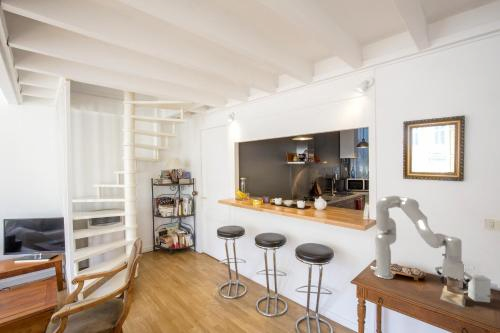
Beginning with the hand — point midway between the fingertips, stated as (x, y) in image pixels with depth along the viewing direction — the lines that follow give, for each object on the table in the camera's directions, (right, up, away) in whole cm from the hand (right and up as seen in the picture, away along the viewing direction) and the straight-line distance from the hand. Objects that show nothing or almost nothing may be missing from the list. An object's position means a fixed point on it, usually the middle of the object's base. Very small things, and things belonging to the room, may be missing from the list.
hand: (452, 285), depth 142 cm
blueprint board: (0, -9, 0) cm, 9 cm away
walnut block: (0, -3, 0) cm, 3 cm away
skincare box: (+16, -10, 0) cm, 19 cm away
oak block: (0, -8, 0) cm, 8 cm away
